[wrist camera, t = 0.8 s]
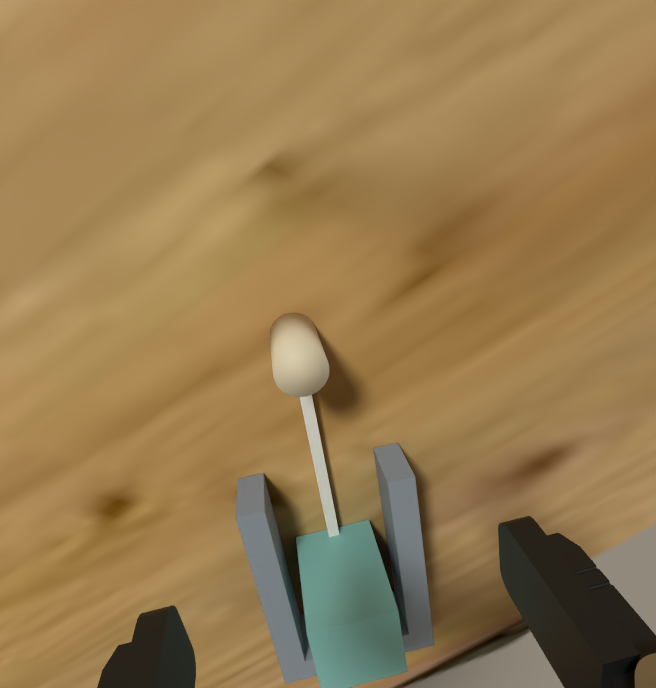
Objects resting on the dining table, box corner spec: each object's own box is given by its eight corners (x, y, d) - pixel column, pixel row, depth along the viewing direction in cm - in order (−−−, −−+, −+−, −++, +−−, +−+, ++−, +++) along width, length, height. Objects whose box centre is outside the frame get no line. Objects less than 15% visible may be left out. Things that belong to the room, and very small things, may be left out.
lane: (397, 442, 30) (415, 476, 27) (417, 600, 35) (434, 644, 32) (237, 478, 29) (235, 518, 26) (282, 634, 35) (285, 683, 31)
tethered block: (333, 304, 26) (359, 350, 20) (377, 574, 34) (407, 671, 27) (243, 322, 26) (239, 375, 19) (309, 591, 33) (322, 694, 27)
